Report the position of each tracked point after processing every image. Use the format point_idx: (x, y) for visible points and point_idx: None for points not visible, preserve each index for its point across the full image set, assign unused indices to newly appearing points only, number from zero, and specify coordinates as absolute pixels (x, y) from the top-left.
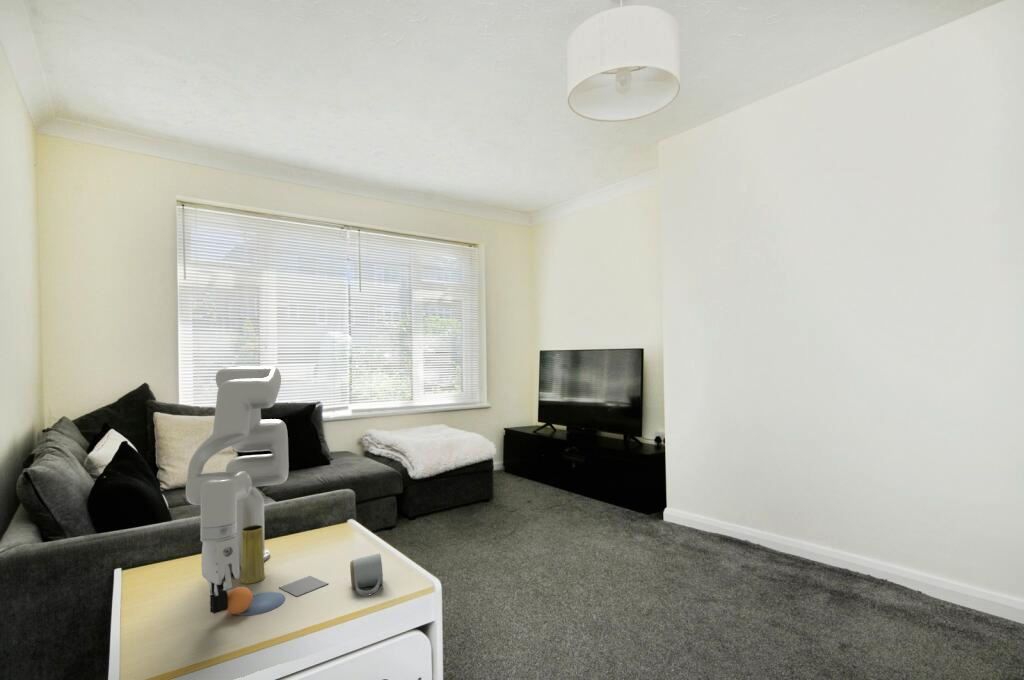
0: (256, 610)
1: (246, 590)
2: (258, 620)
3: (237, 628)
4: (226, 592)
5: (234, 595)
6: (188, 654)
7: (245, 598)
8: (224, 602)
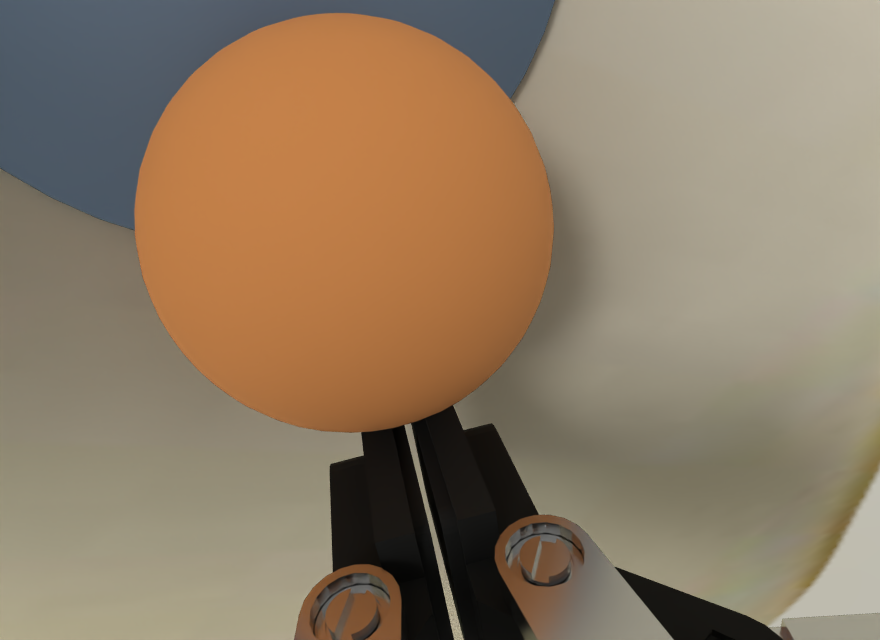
0: (456, 7)
1: (481, 163)
2: (682, 71)
3: (662, 274)
4: (571, 542)
5: (493, 365)
6: (718, 551)
7: (549, 191)
8: (507, 461)
